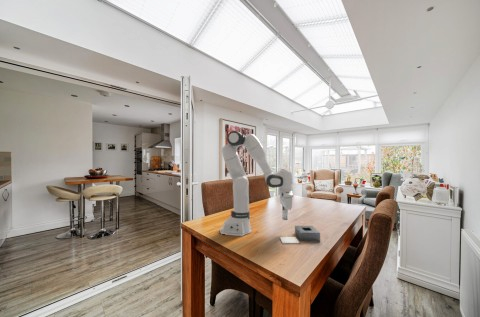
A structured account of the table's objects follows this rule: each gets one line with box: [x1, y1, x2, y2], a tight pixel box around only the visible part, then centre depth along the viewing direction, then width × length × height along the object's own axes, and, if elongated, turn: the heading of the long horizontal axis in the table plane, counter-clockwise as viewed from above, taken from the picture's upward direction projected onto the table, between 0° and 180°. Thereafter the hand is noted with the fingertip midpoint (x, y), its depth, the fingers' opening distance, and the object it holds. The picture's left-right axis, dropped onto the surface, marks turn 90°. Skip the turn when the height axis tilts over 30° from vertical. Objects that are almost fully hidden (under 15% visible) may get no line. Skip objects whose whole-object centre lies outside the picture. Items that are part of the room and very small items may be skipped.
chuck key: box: [281, 205, 289, 221], centre depth 120 cm, size 4×4×9 cm
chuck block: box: [294, 225, 321, 242], centre depth 113 cm, size 12×12×5 cm
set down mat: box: [279, 236, 300, 245], centre depth 107 cm, size 10×8×1 cm
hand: (284, 212), depth 120 cm, fingers closed on chuck key, 4 cm apart
